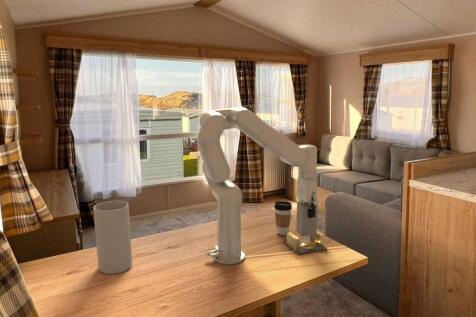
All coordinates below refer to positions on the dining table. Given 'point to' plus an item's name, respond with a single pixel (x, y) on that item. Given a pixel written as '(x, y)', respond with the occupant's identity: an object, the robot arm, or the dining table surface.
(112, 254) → the cylinder vase
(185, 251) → the dining table surface
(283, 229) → the coffee cup
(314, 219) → the perfume bottle
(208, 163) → the robot arm
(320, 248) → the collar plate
